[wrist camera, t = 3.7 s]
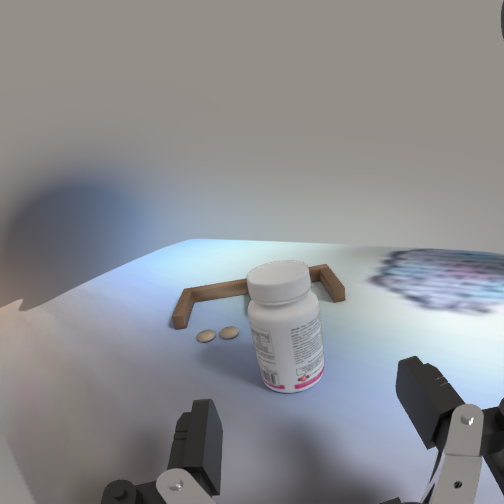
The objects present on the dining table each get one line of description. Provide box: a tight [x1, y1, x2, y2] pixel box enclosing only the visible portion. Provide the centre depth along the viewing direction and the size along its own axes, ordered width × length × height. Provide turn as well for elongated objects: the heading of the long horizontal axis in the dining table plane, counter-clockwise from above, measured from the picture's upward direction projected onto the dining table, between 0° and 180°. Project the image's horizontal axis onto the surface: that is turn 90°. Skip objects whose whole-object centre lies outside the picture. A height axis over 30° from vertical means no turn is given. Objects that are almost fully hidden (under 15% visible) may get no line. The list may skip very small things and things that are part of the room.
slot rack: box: [172, 264, 345, 342], centre depth 33 cm, size 18×11×2 cm, turn 92°
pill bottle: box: [247, 261, 324, 393], centre depth 21 cm, size 5×5×8 cm
